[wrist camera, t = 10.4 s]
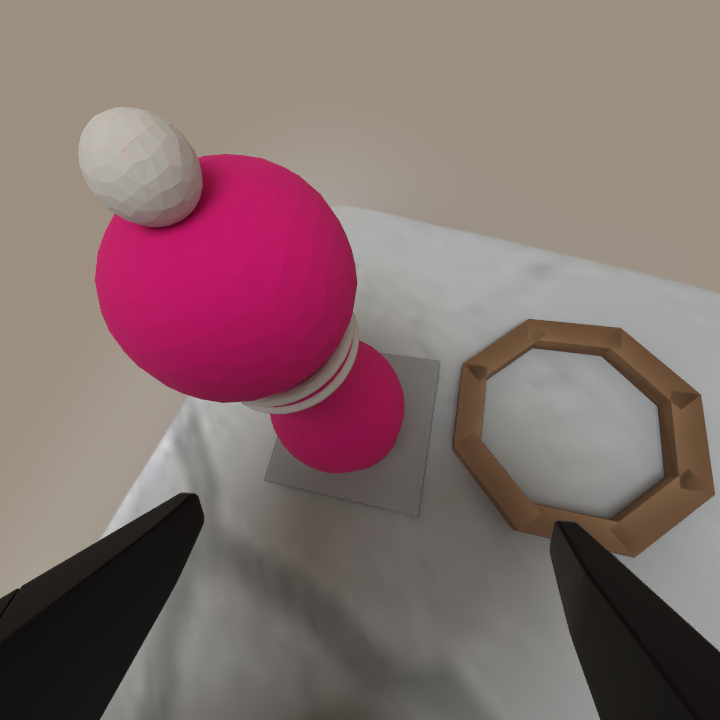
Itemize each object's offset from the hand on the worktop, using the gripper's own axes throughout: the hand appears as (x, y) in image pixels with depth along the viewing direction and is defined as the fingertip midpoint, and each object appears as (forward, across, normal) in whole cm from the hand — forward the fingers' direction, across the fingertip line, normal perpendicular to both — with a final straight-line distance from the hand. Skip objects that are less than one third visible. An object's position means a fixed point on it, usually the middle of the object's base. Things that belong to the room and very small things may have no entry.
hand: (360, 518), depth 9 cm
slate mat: (+14, +3, +6) cm, 15 cm away
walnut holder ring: (+14, -10, +6) cm, 18 cm away
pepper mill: (+13, +3, +6) cm, 15 cm away
